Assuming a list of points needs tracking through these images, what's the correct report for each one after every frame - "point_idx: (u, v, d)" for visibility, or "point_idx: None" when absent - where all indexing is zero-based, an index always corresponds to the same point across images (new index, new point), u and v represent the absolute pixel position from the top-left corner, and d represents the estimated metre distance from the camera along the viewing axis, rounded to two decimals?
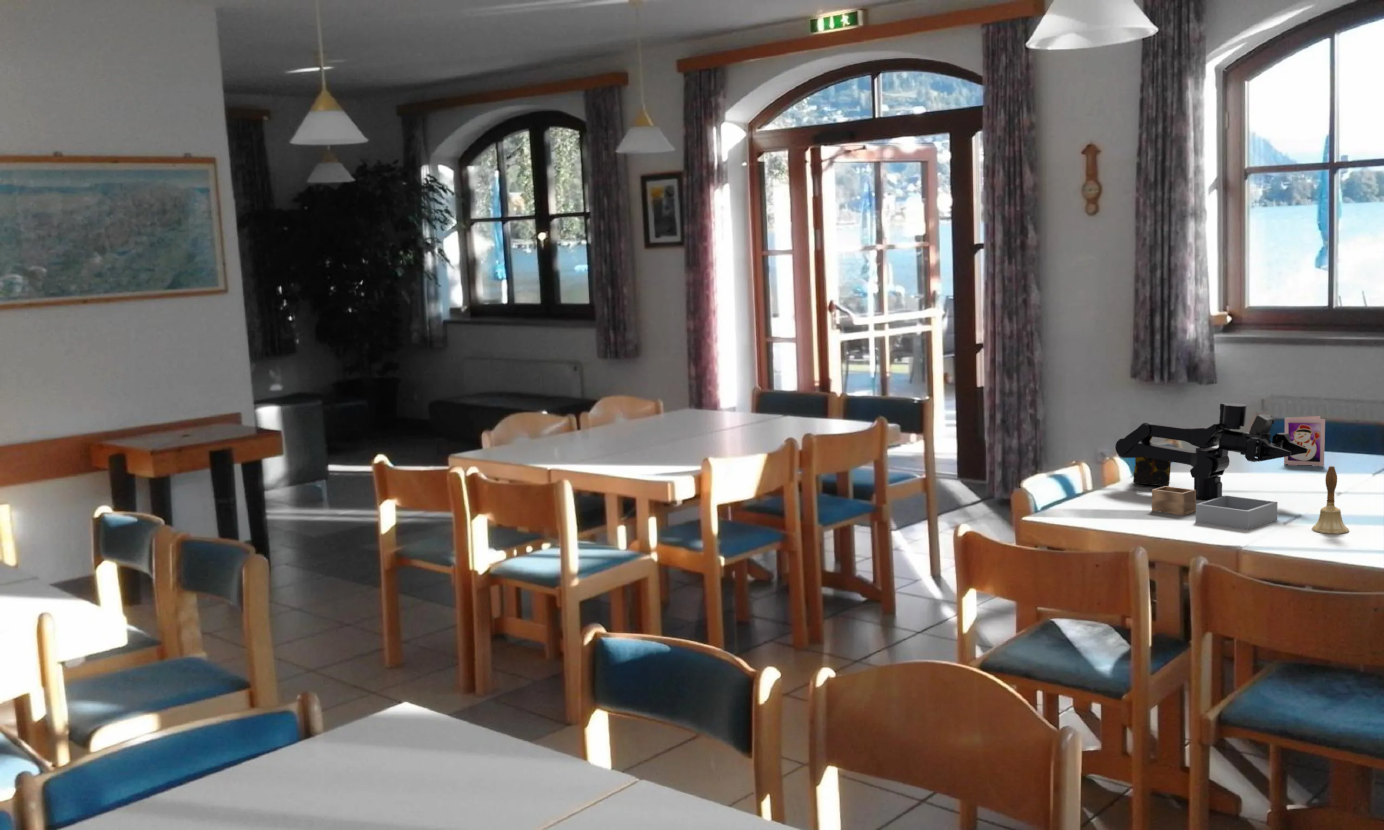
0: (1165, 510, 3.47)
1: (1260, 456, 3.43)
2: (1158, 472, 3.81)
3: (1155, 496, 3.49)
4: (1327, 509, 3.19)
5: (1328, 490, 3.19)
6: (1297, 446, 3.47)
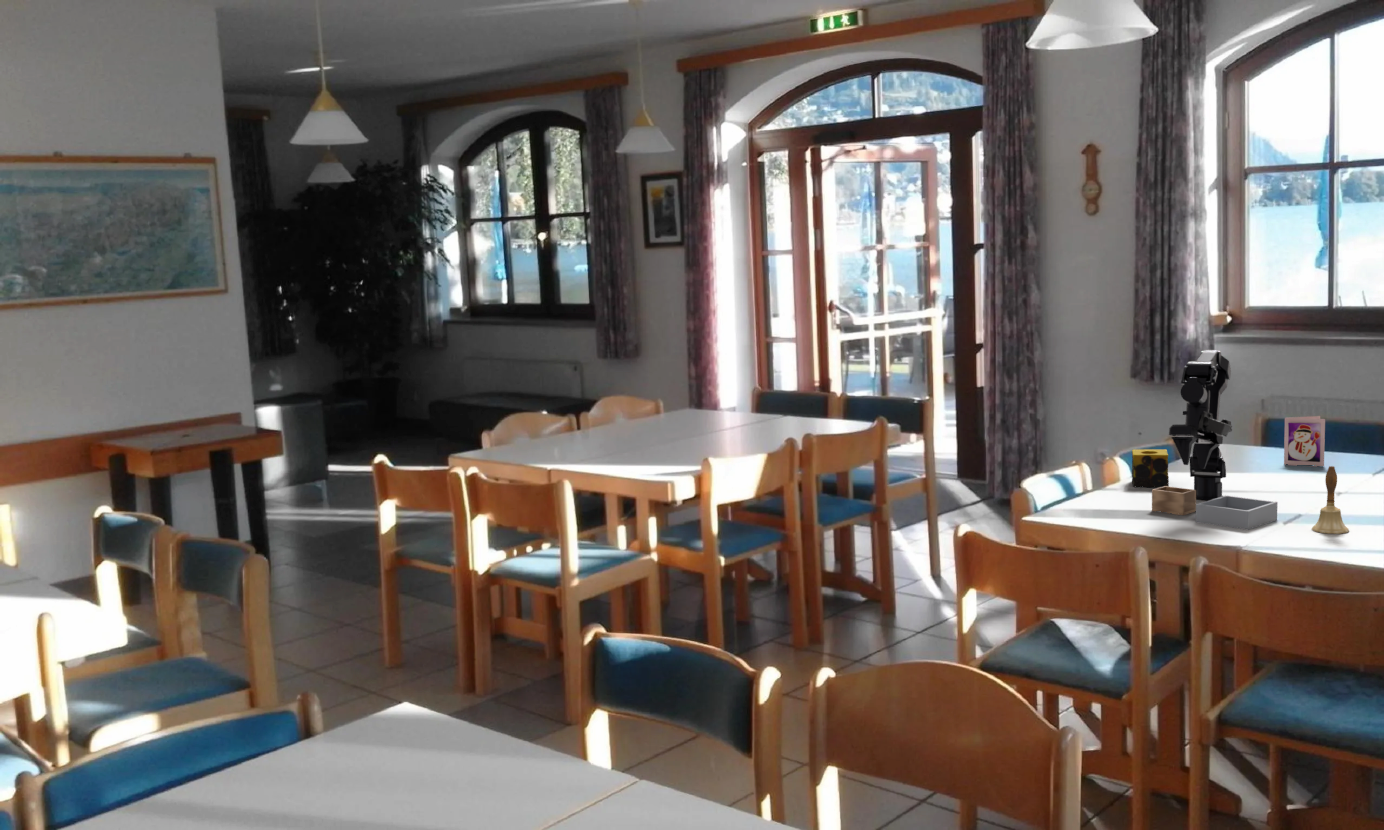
0: (1165, 510, 3.47)
1: (1176, 438, 3.40)
2: (1157, 475, 3.81)
3: (1155, 496, 3.49)
4: (1327, 509, 3.19)
5: (1328, 490, 3.19)
6: (1205, 458, 3.46)
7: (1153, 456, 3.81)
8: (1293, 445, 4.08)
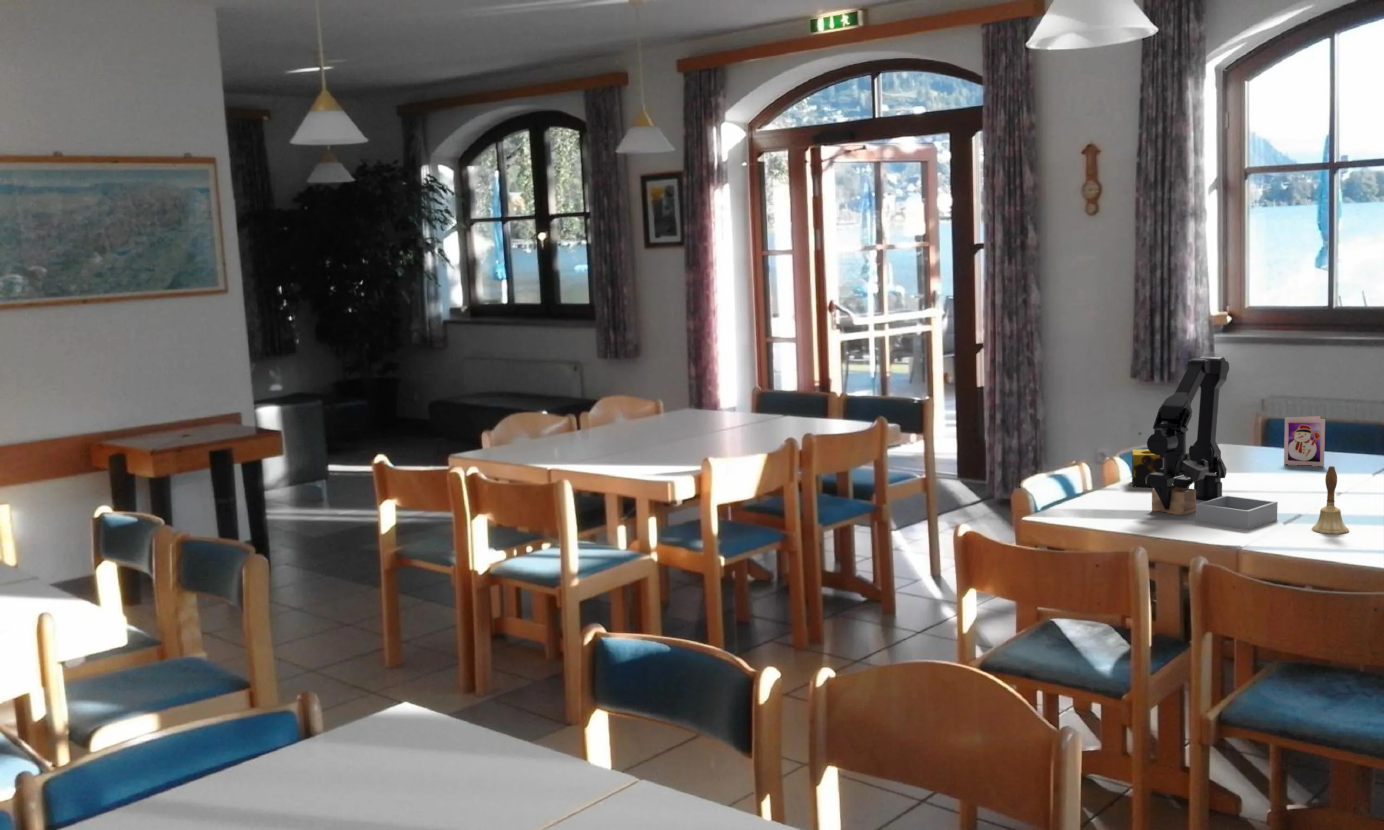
0: (1165, 509, 3.47)
1: (1155, 486, 3.45)
2: None
3: (1155, 495, 3.49)
4: (1327, 509, 3.19)
5: (1328, 490, 3.19)
6: None
7: (1153, 456, 3.81)
8: (1293, 445, 4.08)
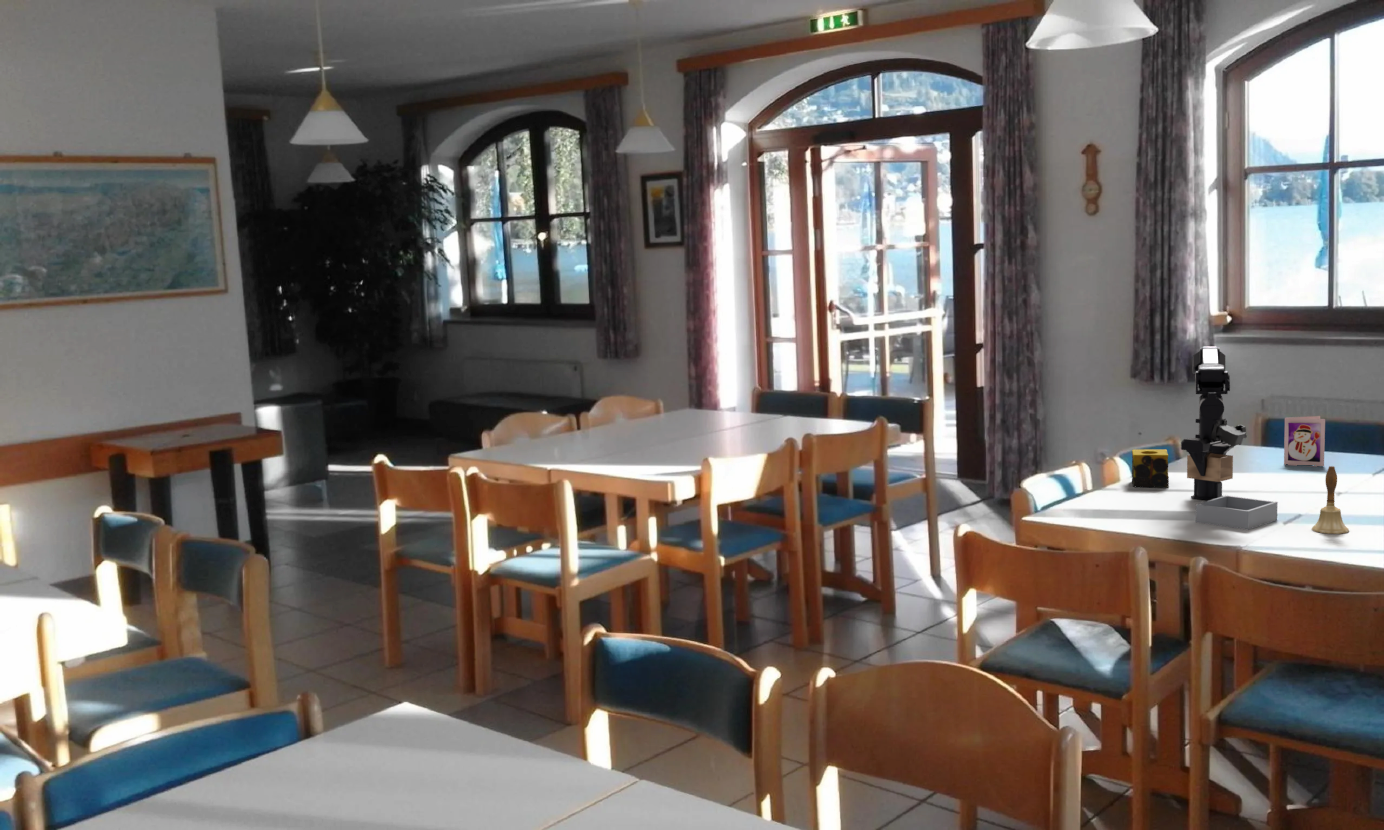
0: (1201, 476, 3.37)
1: (1191, 452, 3.35)
2: (1157, 475, 3.81)
3: (1190, 462, 3.39)
4: (1327, 509, 3.19)
5: (1328, 490, 3.19)
6: None
7: (1153, 456, 3.81)
8: (1293, 445, 4.08)
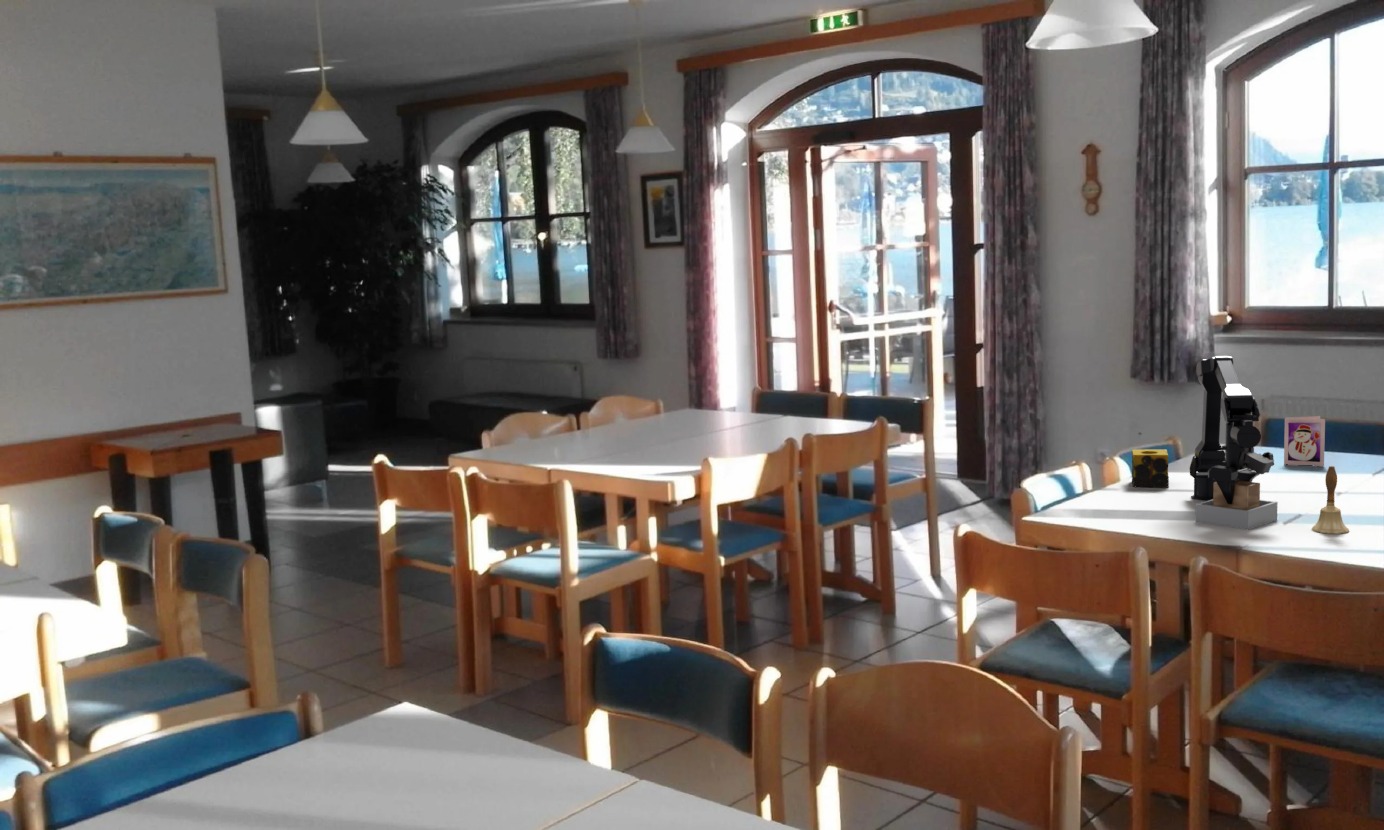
0: (1228, 504, 3.33)
1: (1218, 480, 3.30)
2: (1157, 475, 3.81)
3: (1217, 489, 3.34)
4: (1327, 509, 3.19)
5: (1328, 490, 3.19)
6: None
7: (1153, 456, 3.81)
8: (1293, 445, 4.08)
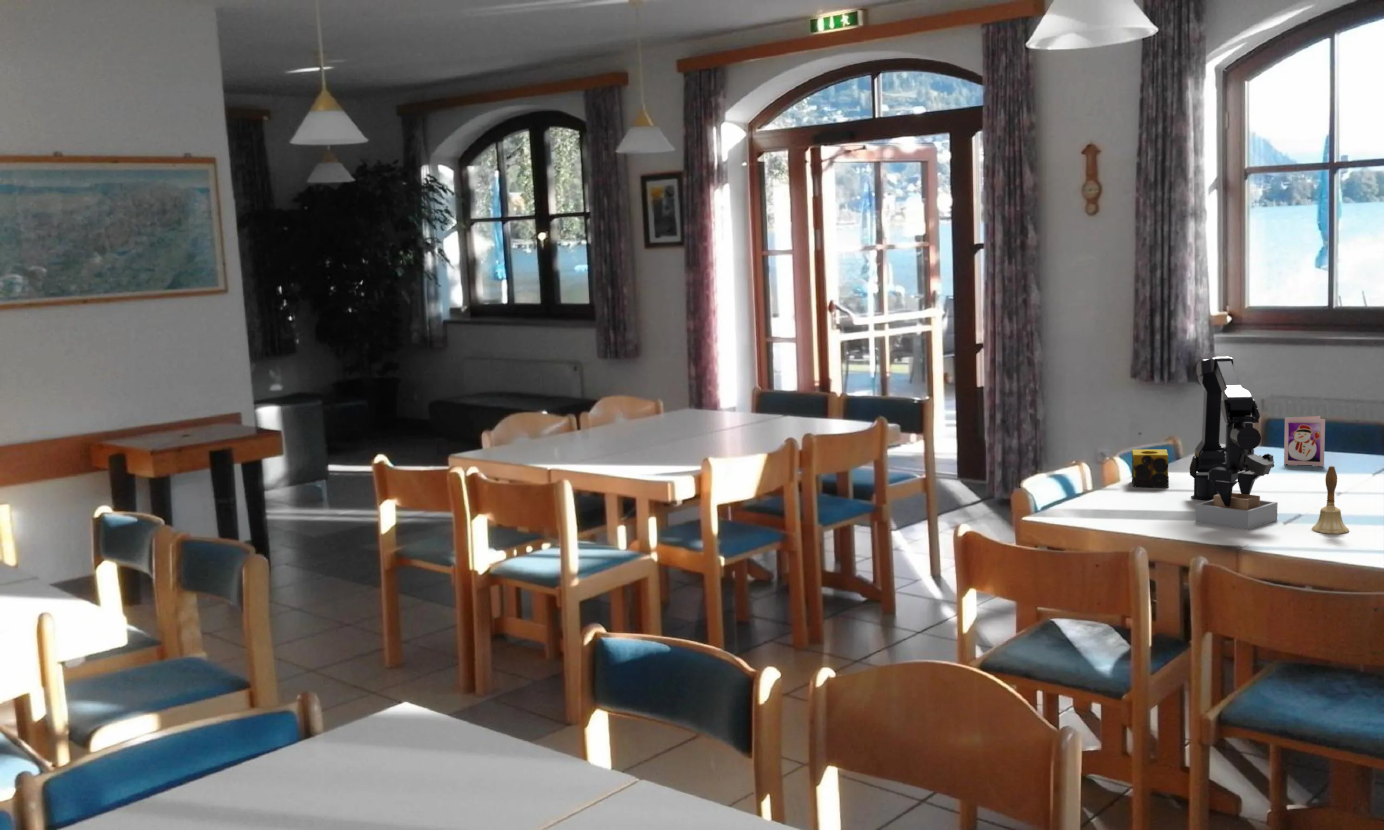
0: None
1: None
2: (1157, 475, 3.81)
3: (1217, 502, 3.35)
4: (1327, 509, 3.19)
5: (1328, 490, 3.19)
6: (1248, 490, 3.36)
7: (1153, 456, 3.81)
8: (1293, 445, 4.08)
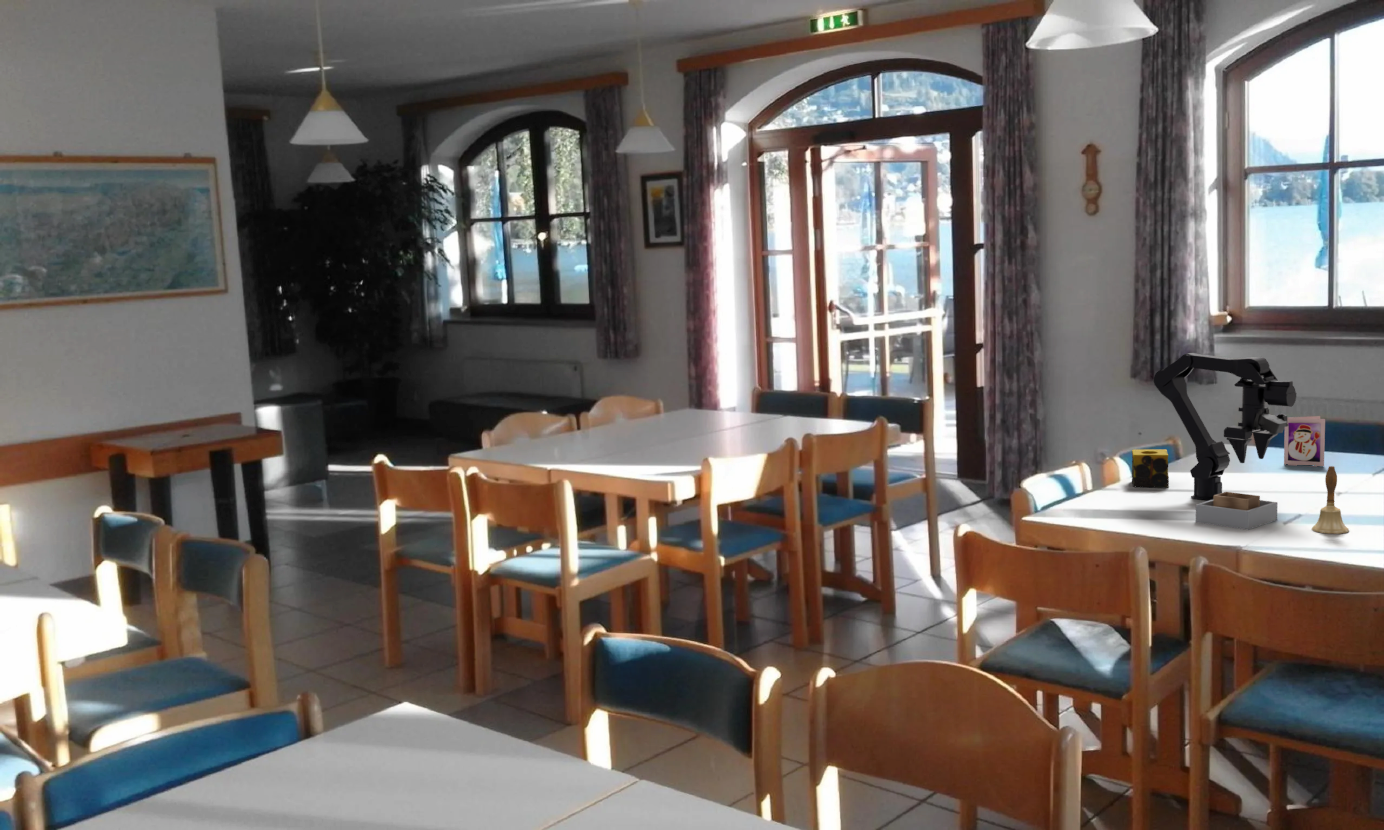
0: None
1: (1231, 439, 3.49)
2: (1157, 475, 3.81)
3: (1217, 502, 3.35)
4: (1327, 509, 3.19)
5: (1328, 490, 3.19)
6: (1263, 449, 3.55)
7: (1153, 456, 3.81)
8: (1293, 445, 4.08)
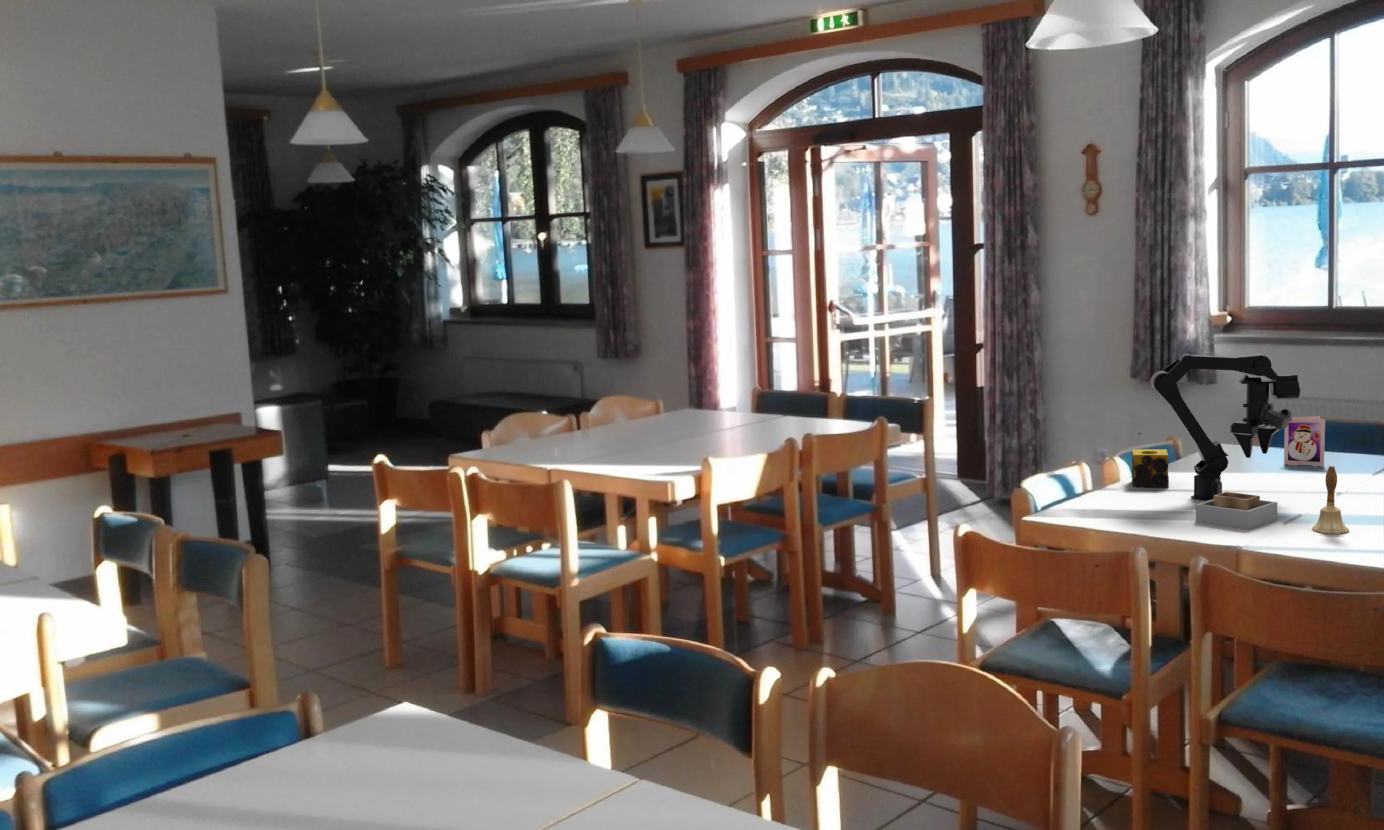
0: None
1: None
2: (1157, 475, 3.81)
3: (1217, 502, 3.35)
4: (1327, 509, 3.19)
5: (1328, 490, 3.19)
6: (1267, 444, 3.62)
7: (1153, 456, 3.81)
8: (1293, 445, 4.08)
